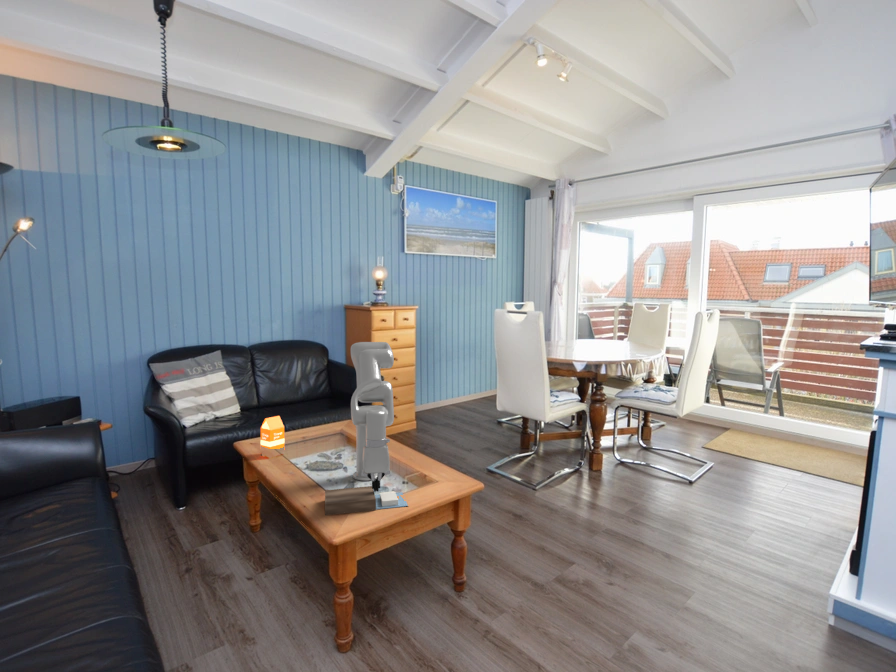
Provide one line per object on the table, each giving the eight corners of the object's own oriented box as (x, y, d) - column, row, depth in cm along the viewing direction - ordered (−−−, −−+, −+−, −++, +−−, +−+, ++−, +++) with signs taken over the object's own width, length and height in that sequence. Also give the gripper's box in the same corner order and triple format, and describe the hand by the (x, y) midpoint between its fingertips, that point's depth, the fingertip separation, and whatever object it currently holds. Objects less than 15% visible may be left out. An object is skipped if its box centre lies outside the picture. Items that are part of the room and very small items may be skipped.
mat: (372, 495, 181) (372, 494, 181) (402, 492, 184) (402, 492, 184) (375, 509, 167) (375, 508, 167) (407, 506, 170) (407, 505, 170)
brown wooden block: (325, 500, 176) (325, 490, 176) (372, 496, 180) (372, 486, 180) (325, 515, 162) (324, 504, 162) (375, 510, 167) (375, 499, 167)
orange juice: (284, 454, 237) (284, 416, 236) (270, 458, 229) (269, 419, 228) (275, 452, 241) (274, 414, 240) (260, 456, 233) (260, 417, 233)
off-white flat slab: (395, 491, 180) (395, 496, 180) (379, 492, 178) (379, 497, 178) (398, 499, 171) (398, 505, 171) (382, 501, 169) (382, 506, 169)
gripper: (394, 439, 179) (394, 485, 179) (355, 441, 175) (355, 488, 175) (396, 443, 171) (396, 492, 172) (356, 446, 168) (356, 495, 168)
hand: (376, 490), depth 174 cm, fingers closed
